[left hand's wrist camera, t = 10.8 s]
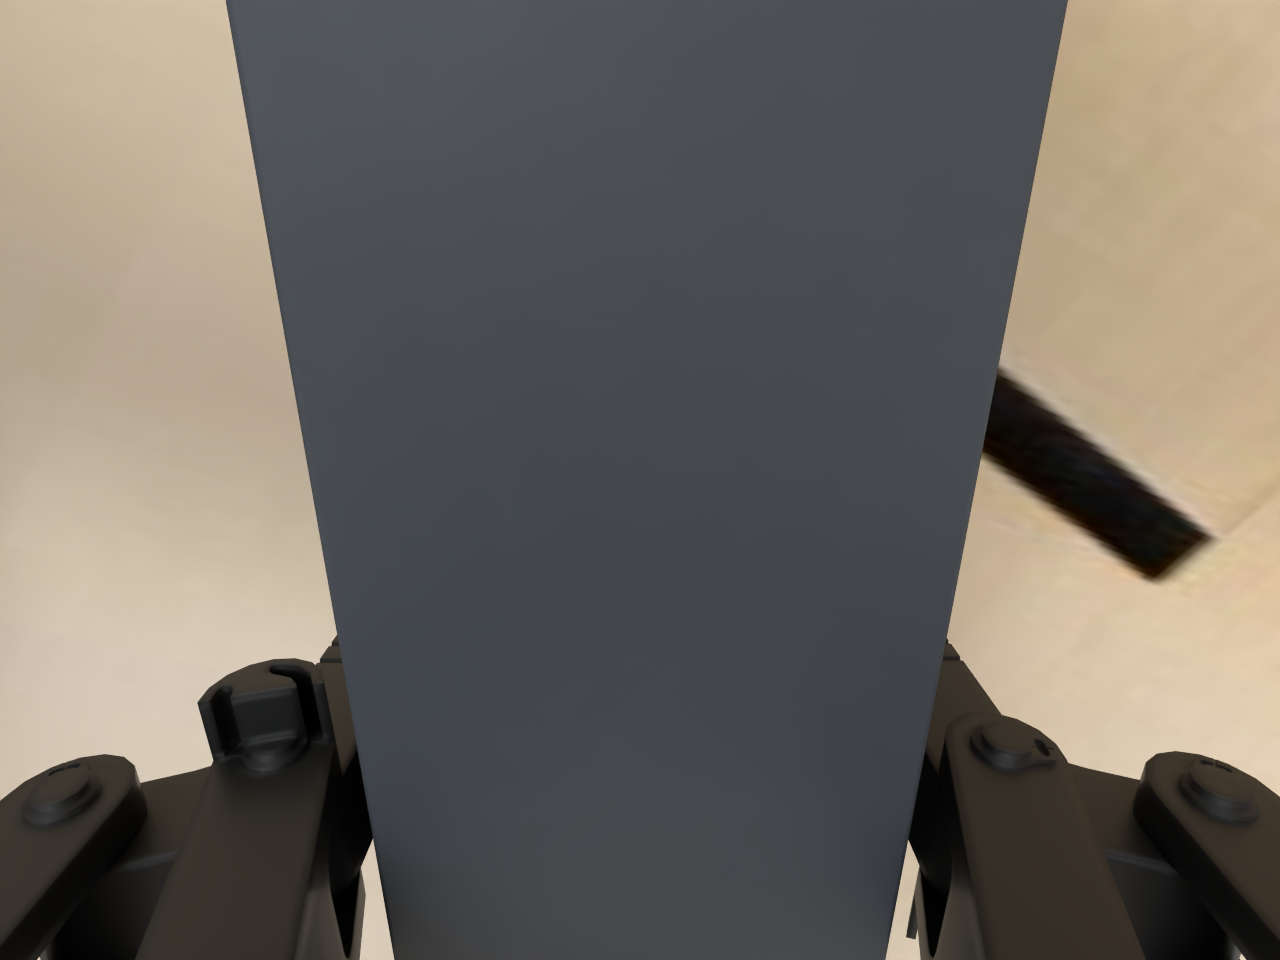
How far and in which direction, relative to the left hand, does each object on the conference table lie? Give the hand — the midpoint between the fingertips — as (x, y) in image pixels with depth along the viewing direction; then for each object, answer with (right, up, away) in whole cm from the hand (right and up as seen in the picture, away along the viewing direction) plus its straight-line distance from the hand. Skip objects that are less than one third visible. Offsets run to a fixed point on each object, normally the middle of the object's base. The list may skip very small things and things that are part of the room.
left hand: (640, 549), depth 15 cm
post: (0, +30, -11) cm, 32 cm away
